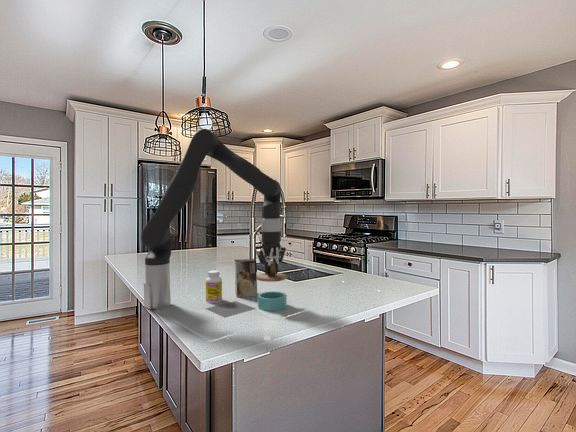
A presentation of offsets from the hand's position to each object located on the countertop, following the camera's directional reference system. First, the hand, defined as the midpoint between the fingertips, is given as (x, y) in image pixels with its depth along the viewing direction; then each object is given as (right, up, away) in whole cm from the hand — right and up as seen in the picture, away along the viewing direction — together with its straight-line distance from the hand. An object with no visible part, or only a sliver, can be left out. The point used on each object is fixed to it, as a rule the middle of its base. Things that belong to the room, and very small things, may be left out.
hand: (271, 273), depth 128 cm
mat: (-16, -14, -2) cm, 21 cm away
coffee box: (-12, -13, +18) cm, 26 cm away
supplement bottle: (-25, -14, +9) cm, 30 cm away
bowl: (0, -13, 0) cm, 13 cm away
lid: (0, -2, 0) cm, 2 cm away
